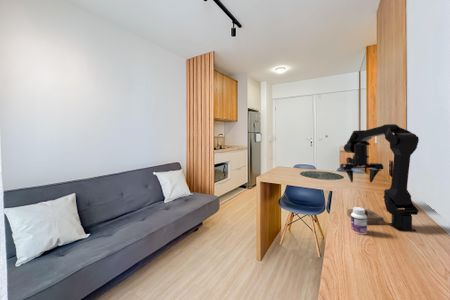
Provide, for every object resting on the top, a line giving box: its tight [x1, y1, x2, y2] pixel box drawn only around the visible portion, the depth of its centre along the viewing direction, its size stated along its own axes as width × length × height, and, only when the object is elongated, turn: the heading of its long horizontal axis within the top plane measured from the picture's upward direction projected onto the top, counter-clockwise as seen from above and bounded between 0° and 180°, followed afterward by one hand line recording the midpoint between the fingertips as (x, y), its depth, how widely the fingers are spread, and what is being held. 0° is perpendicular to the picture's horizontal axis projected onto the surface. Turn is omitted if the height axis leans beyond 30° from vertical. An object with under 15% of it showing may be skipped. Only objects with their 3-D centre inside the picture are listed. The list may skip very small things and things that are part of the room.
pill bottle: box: [350, 206, 368, 236], centre depth 78 cm, size 5×5×10 cm
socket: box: [346, 208, 385, 225], centre depth 89 cm, size 10×10×3 cm
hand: (361, 182), depth 104 cm, fingers open, 9 cm apart
